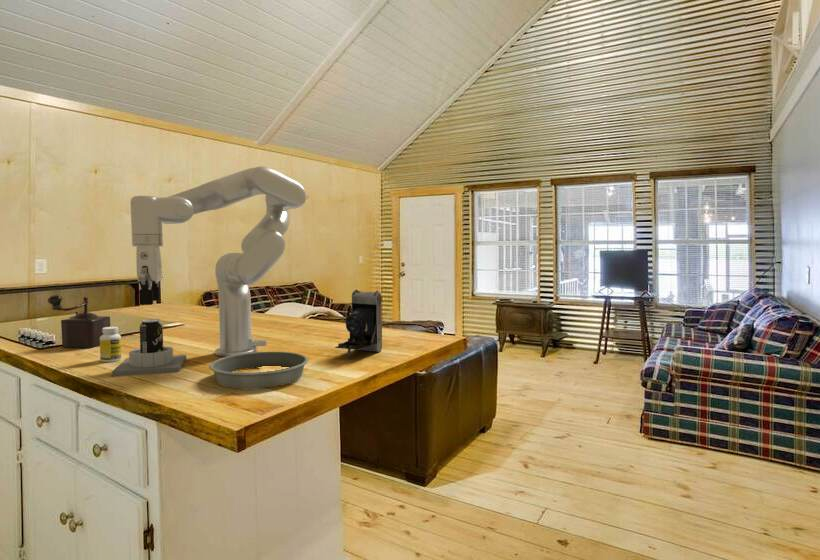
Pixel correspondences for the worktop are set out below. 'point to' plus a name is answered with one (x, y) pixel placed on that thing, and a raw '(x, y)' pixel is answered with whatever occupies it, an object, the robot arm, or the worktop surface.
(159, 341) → the beverage can
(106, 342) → the supplement bottle
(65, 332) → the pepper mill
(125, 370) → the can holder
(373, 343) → the vintage camera
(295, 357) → the cake pan
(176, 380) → the worktop surface
